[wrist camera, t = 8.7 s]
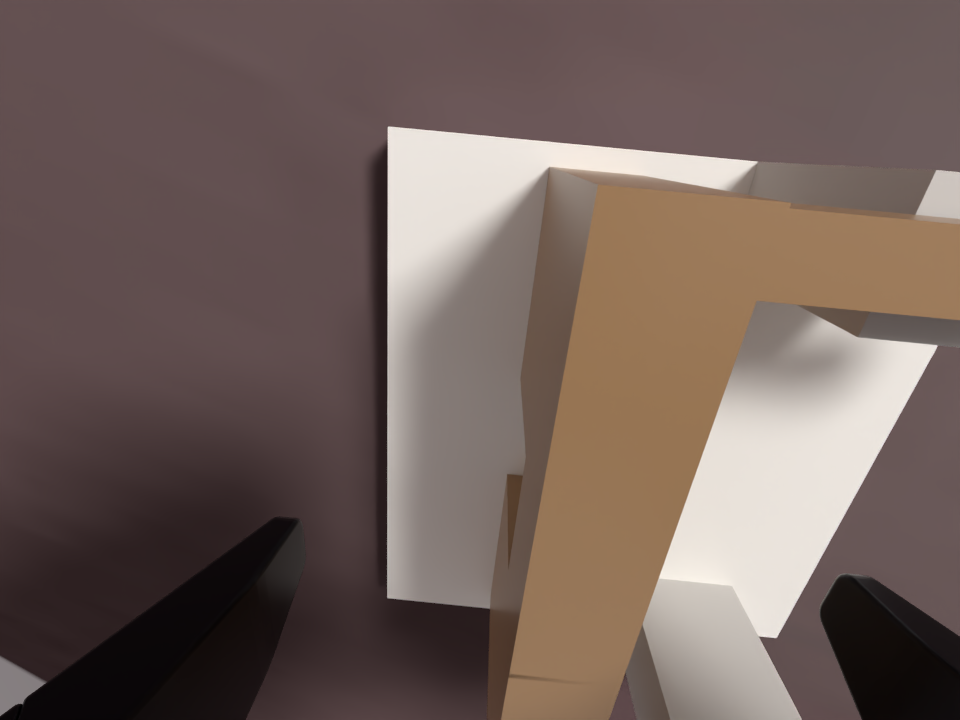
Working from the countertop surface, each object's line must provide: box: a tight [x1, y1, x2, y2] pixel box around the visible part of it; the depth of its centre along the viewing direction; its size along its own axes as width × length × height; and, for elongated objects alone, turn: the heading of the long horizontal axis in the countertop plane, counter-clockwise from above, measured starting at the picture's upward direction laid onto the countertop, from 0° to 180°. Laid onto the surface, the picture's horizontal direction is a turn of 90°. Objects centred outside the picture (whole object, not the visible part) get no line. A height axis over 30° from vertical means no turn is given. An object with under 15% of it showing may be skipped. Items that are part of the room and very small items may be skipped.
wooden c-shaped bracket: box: [487, 167, 960, 720], centre depth 9 cm, size 10×12×5 cm
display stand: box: [387, 127, 960, 720], centre depth 10 cm, size 12×13×5 cm
